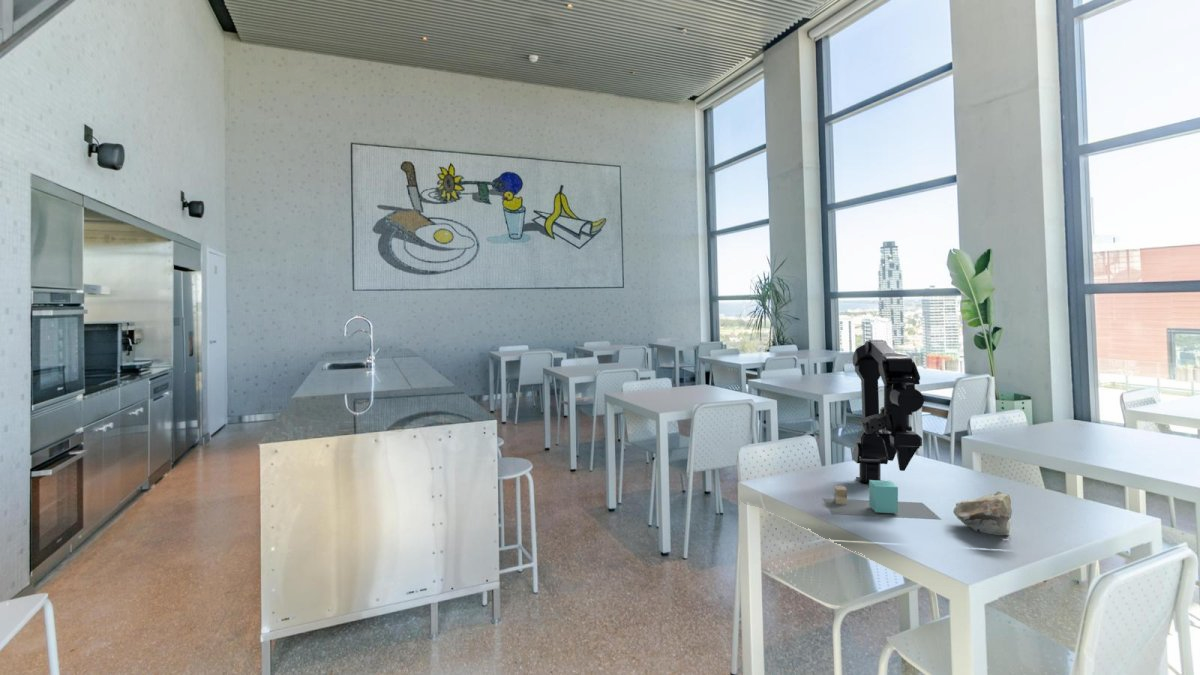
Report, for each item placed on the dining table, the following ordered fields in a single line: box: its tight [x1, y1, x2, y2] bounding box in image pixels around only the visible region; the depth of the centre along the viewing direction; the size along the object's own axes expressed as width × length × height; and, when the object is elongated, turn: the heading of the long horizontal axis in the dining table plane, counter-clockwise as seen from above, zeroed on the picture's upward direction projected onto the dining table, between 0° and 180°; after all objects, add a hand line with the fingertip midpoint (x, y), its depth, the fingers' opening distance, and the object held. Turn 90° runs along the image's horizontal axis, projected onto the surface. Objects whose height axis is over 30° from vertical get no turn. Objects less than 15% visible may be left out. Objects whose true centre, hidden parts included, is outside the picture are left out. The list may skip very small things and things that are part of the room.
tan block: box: [833, 485, 848, 505], centre depth 145 cm, size 3×3×4 cm
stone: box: [953, 491, 1013, 537], centre depth 125 cm, size 11×14×10 cm
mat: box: [821, 498, 942, 521], centre depth 140 cm, size 12×25×1 cm, turn 79°
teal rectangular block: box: [868, 480, 899, 513], centre depth 138 cm, size 5×5×7 cm
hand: (896, 465), depth 139 cm, fingers open, 9 cm apart
